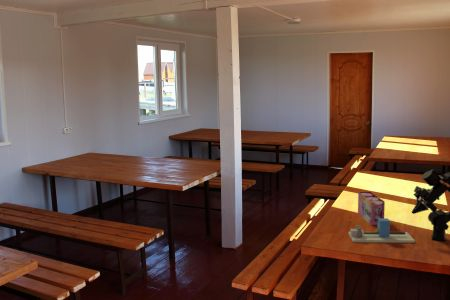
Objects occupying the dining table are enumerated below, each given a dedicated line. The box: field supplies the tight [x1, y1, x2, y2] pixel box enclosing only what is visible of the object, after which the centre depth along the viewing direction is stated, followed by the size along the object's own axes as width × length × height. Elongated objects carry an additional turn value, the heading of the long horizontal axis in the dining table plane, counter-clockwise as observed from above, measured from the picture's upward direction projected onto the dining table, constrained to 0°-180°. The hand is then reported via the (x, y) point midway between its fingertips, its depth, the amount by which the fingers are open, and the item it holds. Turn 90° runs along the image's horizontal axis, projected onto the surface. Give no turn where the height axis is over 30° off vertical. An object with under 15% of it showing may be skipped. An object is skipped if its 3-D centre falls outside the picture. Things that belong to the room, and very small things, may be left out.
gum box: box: [357, 191, 386, 226], centre depth 270 cm, size 24×8×14 cm, turn 3°
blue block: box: [376, 217, 391, 237], centre depth 240 cm, size 5×4×8 cm
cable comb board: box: [348, 224, 416, 244], centre depth 240 cm, size 30×12×6 cm, turn 86°
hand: (412, 213), depth 237 cm, fingers closed
